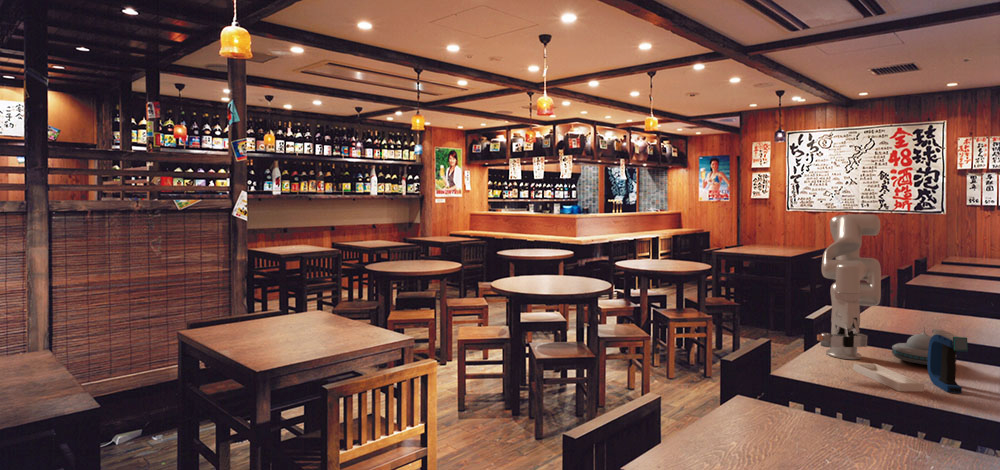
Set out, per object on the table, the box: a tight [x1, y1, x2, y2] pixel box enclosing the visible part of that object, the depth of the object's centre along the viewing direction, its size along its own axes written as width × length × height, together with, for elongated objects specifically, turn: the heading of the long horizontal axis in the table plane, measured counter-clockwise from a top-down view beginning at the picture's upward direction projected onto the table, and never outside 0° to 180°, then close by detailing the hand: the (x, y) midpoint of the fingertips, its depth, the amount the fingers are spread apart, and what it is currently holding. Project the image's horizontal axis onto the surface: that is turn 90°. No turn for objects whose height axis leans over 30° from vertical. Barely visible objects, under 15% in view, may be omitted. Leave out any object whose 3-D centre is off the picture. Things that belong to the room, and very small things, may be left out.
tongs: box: [816, 332, 868, 348], centre depth 199 cm, size 17×4×4 cm, turn 90°
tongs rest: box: [852, 363, 925, 392], centre depth 195 cm, size 24×9×3 cm, turn 0°
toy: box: [891, 326, 958, 366], centre depth 216 cm, size 20×20×15 cm
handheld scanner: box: [926, 328, 968, 394], centre depth 187 cm, size 5×16×20 cm, turn 166°
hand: (845, 344), depth 199 cm, fingers closed on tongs, 3 cm apart
